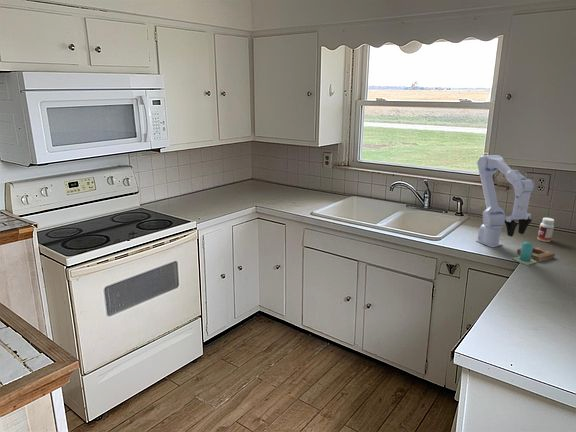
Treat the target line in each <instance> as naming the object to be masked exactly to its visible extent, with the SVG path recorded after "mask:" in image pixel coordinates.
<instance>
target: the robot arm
mask: <svg viewBox="0 0 576 432" xmlns="http://www.w3.org/2000/svg"><path fill="white" fill-rule="evenodd" d="M476 164H477V168H478V174H479V177H480V182H481V187H482V192H483V197H484V202H485V207H486V209H485V210H483V212H482V223H483V224H481V225H480V227H479V229H478V235H477V239H476V241H475V242H478V243H480V244H483V245H485V246H487V247H489V248H496V247H500V246H503V243H502V242H500V238H501V233H502V229H503V228H504V227H505V226H506V233H507V236H508V237H514V234H515V230H516V228H517V226H518V234H520V235H524V234H525V232H526V230H527V228H528V226H529V225H530V223H532V219H531V218H532V213H530V212H529V213H528V209H529V204H530V203H529V202H530V197H531V193H533V192H534V191H535V188H536V183H535V181H534V180H533V179H531V178H526V176H524V175H522V174H521V173H520V171H519V170H518V169H512V168H511V167H510V166H509V165H508V164H507V163H506V161H504V157H502V156H501V154H500V155H499V154H496V155H484V154H483V155H480V157H479V158H478V160H477V163H476ZM497 171H500V173H502V174H503V175H505V179H506V180H507V182H509V183H510V184H511V185H512V186H513V189H514V190H513V191H514V202H513V208H512V213H511V214H510V215H508V216H507V215H506V213H505V211H504V209H503V208H501V207H500V206H499V203H498V198H497V197H498V196H497V192H496V187H495V183H494V178H493V175H494V174H496V173H497ZM515 221H518V222H515Z"/></svg>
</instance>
